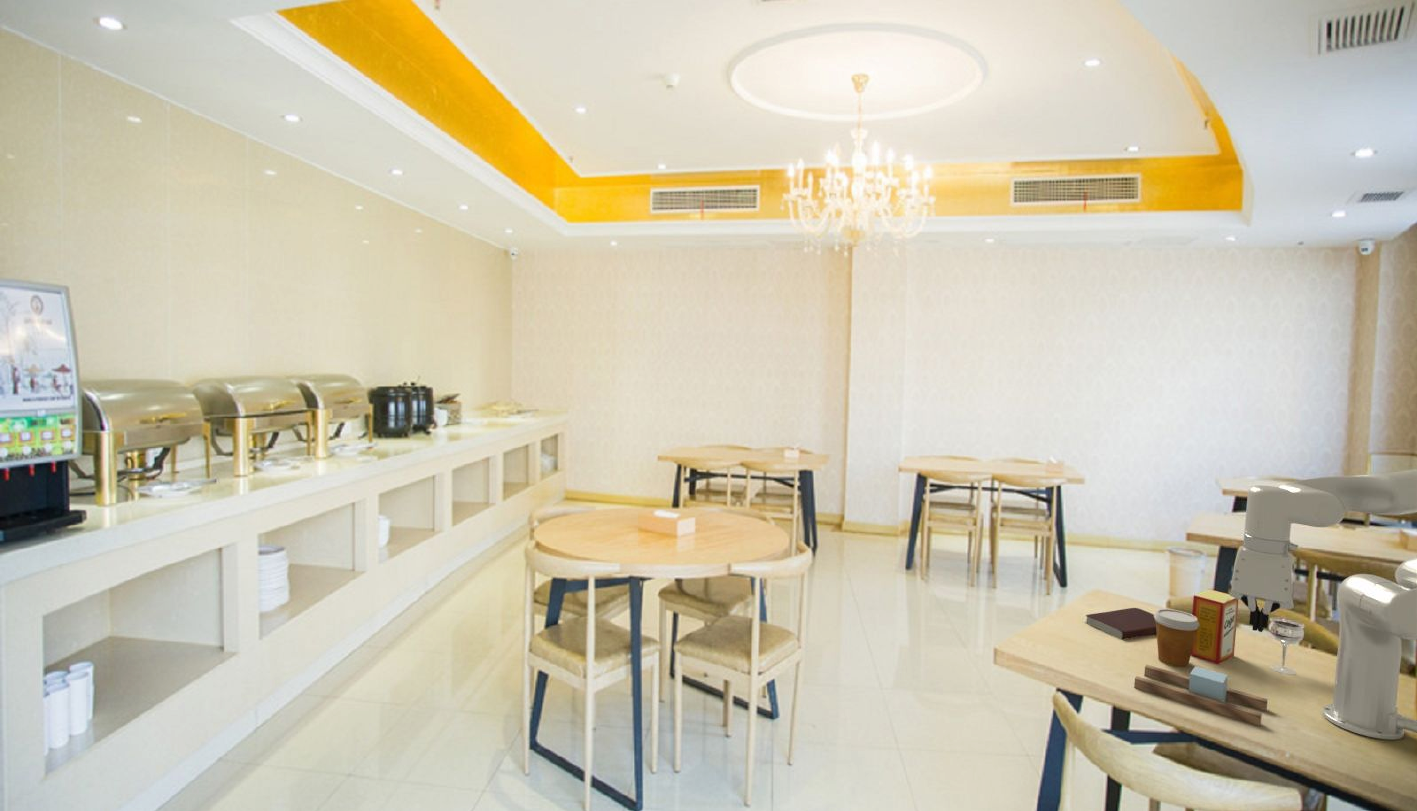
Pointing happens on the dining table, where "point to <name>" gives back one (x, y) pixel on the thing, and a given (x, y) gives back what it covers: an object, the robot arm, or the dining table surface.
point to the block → (1208, 683)
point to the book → (1124, 622)
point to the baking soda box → (1214, 626)
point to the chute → (1201, 700)
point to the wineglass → (1285, 637)
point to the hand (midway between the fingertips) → (1258, 629)
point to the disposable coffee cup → (1175, 636)
